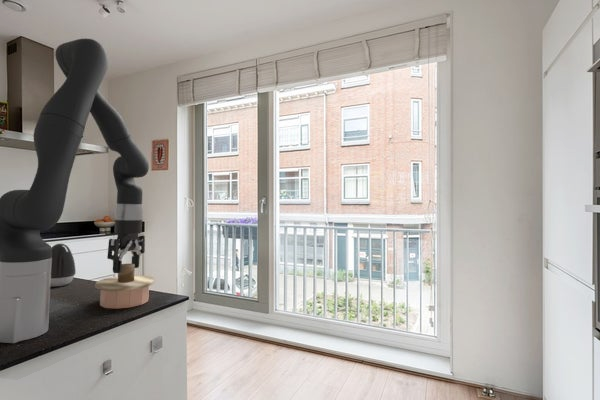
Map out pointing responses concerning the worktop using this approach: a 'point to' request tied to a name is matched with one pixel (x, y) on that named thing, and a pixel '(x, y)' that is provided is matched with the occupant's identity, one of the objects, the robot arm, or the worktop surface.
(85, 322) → the worktop surface
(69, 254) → the pump dispenser
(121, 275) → the lid
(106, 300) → the bowl
